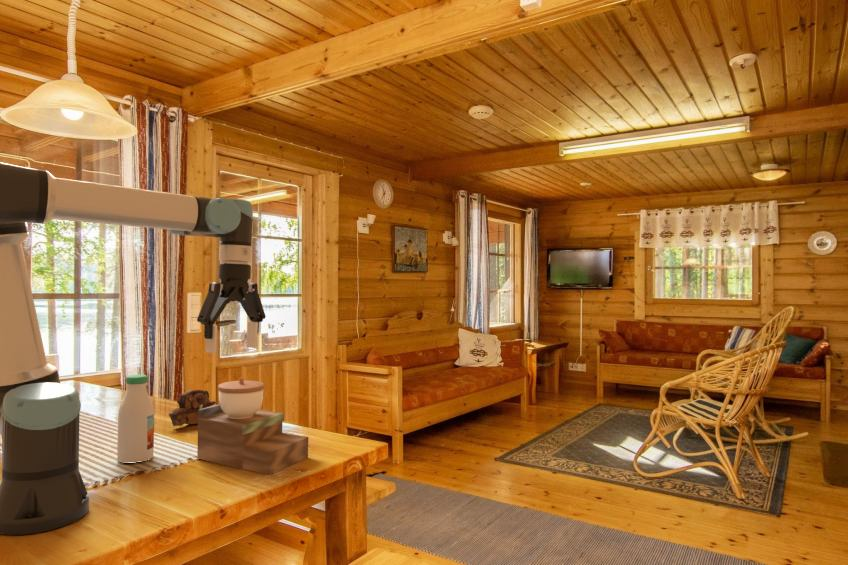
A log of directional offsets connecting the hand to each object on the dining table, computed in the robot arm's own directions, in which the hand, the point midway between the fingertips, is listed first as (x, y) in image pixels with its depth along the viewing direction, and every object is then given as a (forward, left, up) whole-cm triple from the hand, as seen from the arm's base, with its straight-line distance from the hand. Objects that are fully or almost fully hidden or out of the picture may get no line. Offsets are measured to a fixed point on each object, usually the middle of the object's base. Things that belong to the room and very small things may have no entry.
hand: (232, 350), depth 142 cm
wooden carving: (+17, +30, -26) cm, 44 cm away
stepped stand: (+1, -6, -26) cm, 27 cm away
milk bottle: (-13, +17, -26) cm, 34 cm away
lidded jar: (0, -3, -16) cm, 16 cm away
